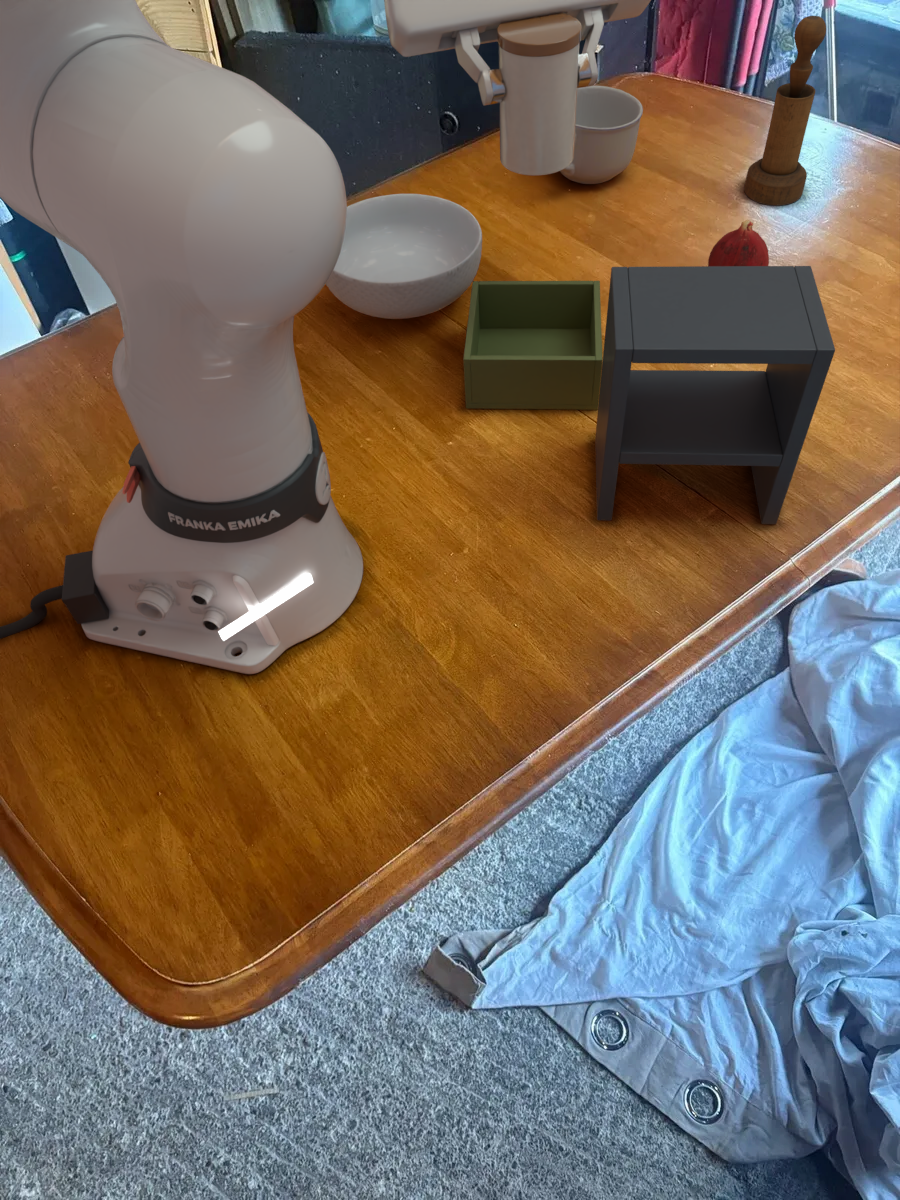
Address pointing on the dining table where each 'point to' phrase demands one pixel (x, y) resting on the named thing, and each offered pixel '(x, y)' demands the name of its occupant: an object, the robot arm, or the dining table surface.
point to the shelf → (711, 373)
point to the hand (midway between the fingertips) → (541, 92)
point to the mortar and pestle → (788, 126)
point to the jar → (538, 92)
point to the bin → (533, 345)
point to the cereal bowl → (406, 255)
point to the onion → (740, 248)
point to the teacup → (603, 134)
